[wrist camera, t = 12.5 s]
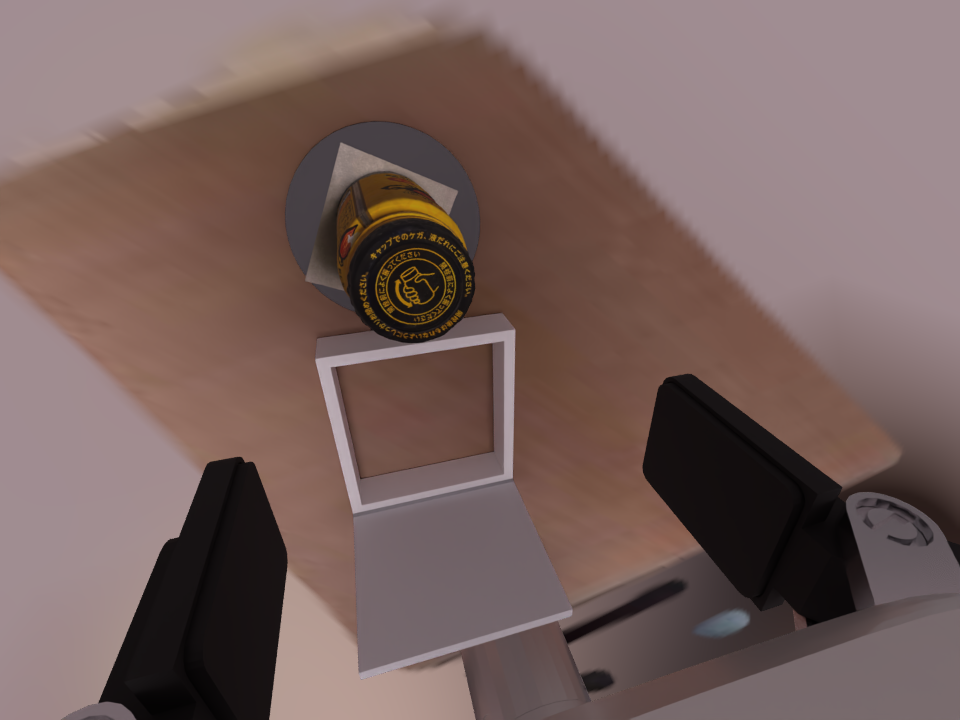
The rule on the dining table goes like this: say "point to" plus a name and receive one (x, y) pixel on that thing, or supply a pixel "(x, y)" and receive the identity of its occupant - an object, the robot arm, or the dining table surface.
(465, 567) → the case
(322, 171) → the mat
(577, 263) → the dining table surface
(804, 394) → the dining table surface
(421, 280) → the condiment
